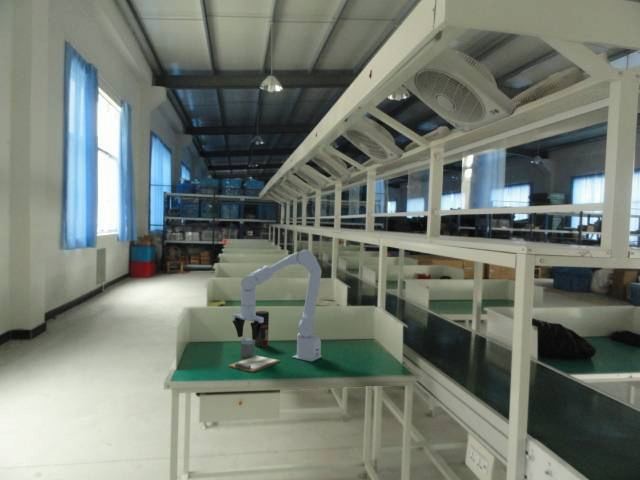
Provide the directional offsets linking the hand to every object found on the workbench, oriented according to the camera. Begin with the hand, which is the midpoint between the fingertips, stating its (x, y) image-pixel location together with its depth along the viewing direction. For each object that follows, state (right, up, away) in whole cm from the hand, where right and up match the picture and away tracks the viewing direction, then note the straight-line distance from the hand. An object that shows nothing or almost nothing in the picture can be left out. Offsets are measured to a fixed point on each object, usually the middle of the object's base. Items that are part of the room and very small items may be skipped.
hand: (247, 338), depth 167 cm
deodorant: (+3, -8, +18) cm, 20 cm away
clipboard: (+5, -8, -10) cm, 13 cm away
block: (0, -8, 0) cm, 8 cm away
